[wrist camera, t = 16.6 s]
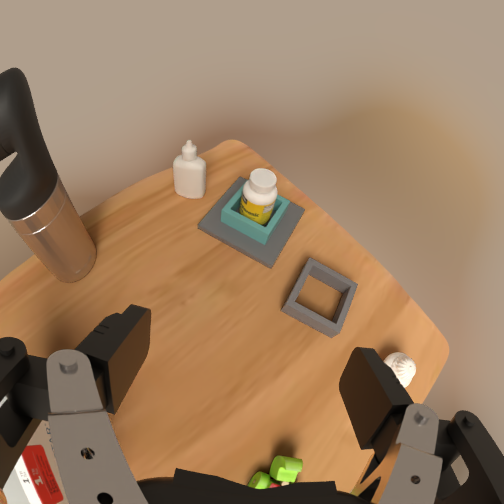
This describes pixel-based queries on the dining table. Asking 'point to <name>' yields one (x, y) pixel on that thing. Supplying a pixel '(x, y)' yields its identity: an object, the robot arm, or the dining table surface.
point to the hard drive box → (36, 472)
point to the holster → (333, 281)
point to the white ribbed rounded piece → (401, 367)
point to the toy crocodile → (277, 473)
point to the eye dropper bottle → (189, 173)
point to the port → (251, 226)
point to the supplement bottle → (259, 196)
